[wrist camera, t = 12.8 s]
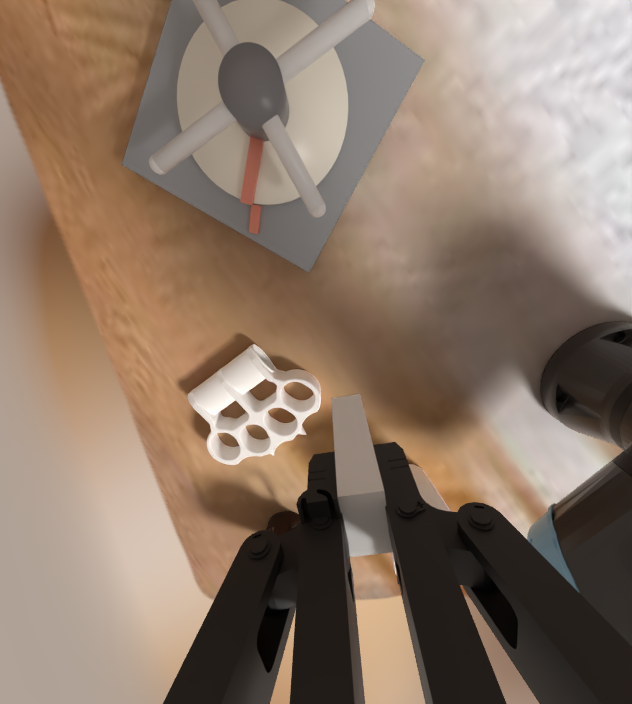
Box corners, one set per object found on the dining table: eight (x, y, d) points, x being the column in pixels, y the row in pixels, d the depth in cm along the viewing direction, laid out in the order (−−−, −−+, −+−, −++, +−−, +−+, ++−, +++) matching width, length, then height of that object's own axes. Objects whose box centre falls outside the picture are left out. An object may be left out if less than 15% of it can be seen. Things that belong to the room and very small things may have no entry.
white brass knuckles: (274, 326, 41) (340, 406, 44) (176, 400, 45) (245, 468, 48) (270, 333, 37) (342, 419, 41) (165, 413, 41) (240, 484, 45)
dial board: (418, 70, 31) (425, 57, 29) (309, 271, 38) (308, 273, 35) (211, -82, 28) (201, -111, 25) (132, 168, 34) (119, 163, 32)
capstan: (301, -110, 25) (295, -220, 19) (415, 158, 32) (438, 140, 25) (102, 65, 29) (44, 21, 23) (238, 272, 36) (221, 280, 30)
